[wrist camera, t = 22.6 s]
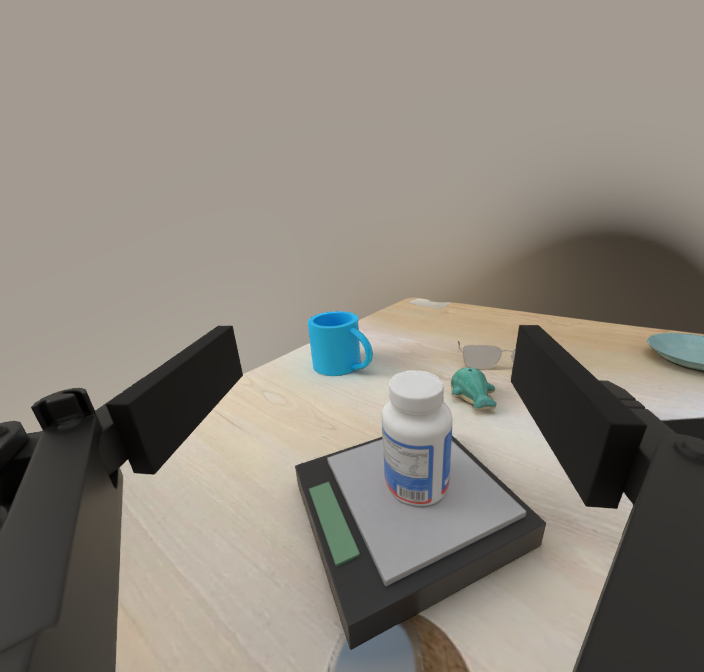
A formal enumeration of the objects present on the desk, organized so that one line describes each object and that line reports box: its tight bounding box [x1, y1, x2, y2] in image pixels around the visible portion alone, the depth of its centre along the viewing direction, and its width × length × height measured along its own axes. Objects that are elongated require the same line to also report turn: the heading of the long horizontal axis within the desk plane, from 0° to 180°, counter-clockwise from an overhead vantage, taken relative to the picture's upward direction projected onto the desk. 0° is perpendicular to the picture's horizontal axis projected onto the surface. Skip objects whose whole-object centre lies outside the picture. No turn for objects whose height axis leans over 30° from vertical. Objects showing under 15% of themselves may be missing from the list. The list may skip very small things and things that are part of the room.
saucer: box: [647, 333, 704, 371], centre depth 49 cm, size 12×12×2 cm
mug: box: [308, 311, 373, 376], centre depth 53 cm, size 12×8×8 cm
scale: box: [295, 436, 546, 650], centre depth 28 cm, size 16×14×3 cm
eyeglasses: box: [458, 341, 516, 369], centre depth 53 cm, size 14×8×4 cm, turn 74°
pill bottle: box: [382, 371, 452, 506], centre depth 26 cm, size 6×5×10 cm
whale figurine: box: [451, 367, 496, 410], centre depth 43 cm, size 6×7×4 cm
